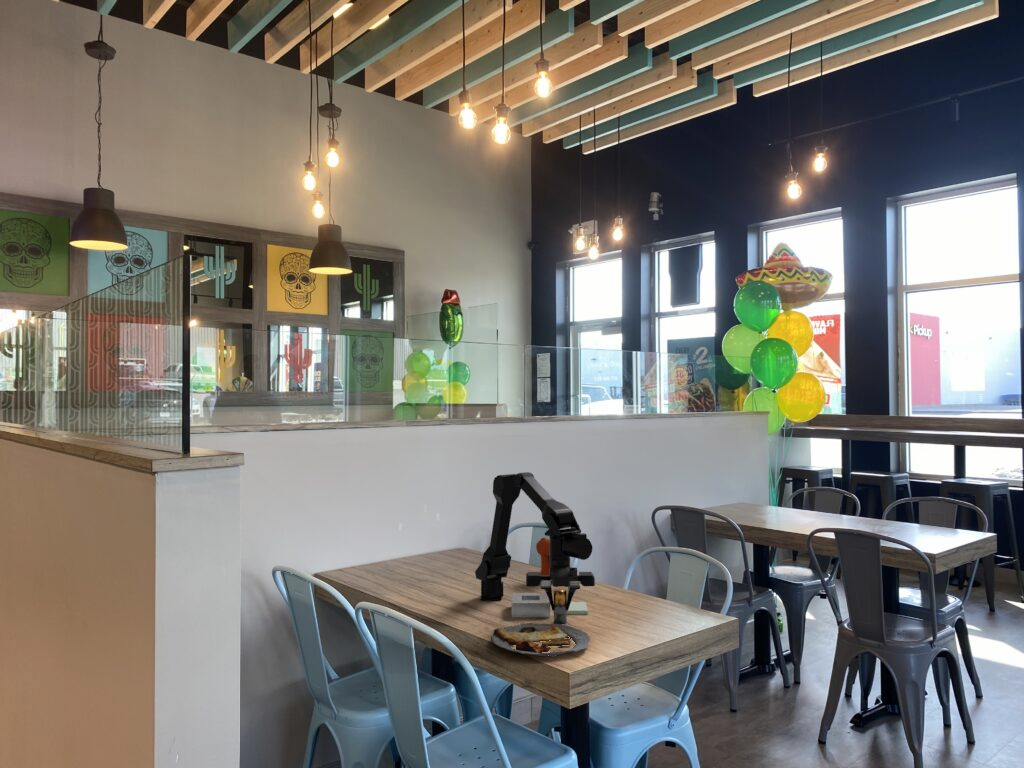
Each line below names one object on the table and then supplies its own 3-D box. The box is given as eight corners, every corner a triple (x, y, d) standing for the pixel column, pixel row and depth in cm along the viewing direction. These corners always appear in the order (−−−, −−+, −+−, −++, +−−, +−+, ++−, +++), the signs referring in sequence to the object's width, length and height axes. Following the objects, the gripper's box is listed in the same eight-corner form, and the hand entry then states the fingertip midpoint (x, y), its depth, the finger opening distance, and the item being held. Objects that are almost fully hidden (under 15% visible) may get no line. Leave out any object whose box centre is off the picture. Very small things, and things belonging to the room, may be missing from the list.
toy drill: (570, 587, 247) (566, 539, 249) (534, 582, 262) (531, 538, 264) (581, 584, 250) (577, 537, 252) (545, 580, 265) (542, 536, 267)
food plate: (504, 664, 181) (505, 649, 181) (480, 635, 203) (481, 622, 203) (603, 657, 188) (604, 642, 188) (569, 629, 210) (570, 616, 210)
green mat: (556, 614, 222) (556, 610, 222) (555, 605, 231) (555, 602, 231) (588, 614, 222) (588, 610, 222) (585, 605, 231) (585, 602, 231)
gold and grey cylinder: (553, 625, 212) (553, 592, 212) (553, 621, 215) (553, 588, 215) (567, 625, 212) (566, 592, 212) (566, 621, 215) (566, 588, 215)
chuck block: (511, 617, 219) (511, 603, 219) (512, 606, 230) (511, 593, 230) (550, 617, 219) (550, 603, 219) (548, 606, 230) (548, 592, 230)
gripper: (526, 560, 206) (526, 618, 206) (596, 559, 206) (596, 618, 205) (526, 551, 217) (526, 607, 217) (592, 551, 217) (592, 607, 217)
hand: (560, 610), depth 214 cm, fingers closed on gold and grey cylinder, 4 cm apart
